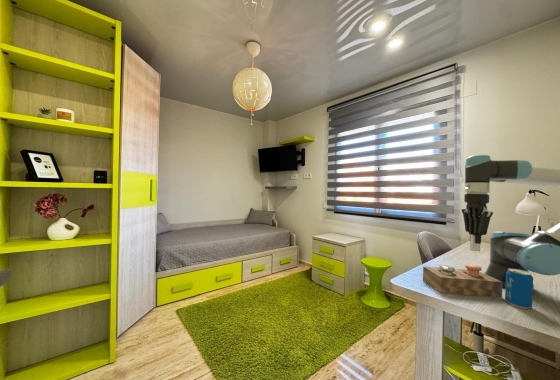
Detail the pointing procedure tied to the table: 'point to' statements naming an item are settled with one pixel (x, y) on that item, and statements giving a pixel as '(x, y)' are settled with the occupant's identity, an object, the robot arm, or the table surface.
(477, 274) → the terracotta plug
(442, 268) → the grey plug
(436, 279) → the socket block
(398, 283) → the table surface
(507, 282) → the beverage can
